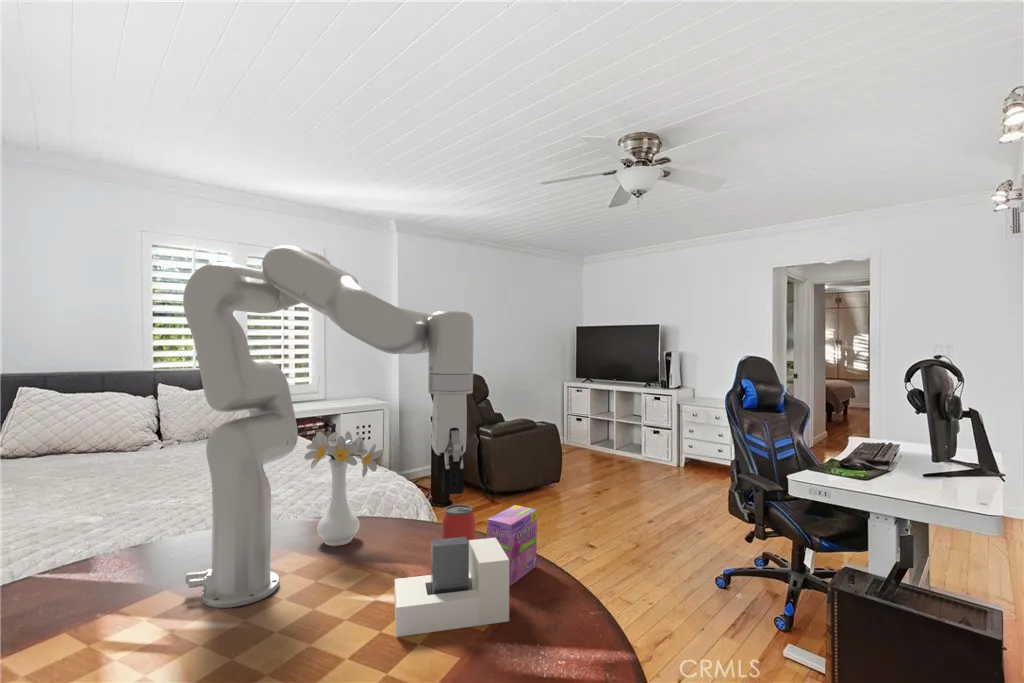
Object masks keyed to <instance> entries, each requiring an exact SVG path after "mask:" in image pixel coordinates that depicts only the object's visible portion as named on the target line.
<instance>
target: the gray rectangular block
mask: <svg viewBox="0 0 1024 683" xmlns="http://www.w3.org/2000/svg"><path fill="white" fill-rule="evenodd" d="M430 541H431V542H430V545H431V547H430V548H431V550H430V560H431V561H430V575H431V595H434V594H442V593H451V592H459V591H467V590H469V542H468V540H467V538H466V537H458V538H447V539H443V538H438V539H437V538H436V539H431V540H430Z"/></svg>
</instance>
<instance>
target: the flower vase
mask: <svg viewBox="0 0 1024 683" xmlns="http://www.w3.org/2000/svg"><path fill="white" fill-rule="evenodd" d="M338 435H339V433H338V432H337V431H335V432H332V433H331V434H330V435H329V436H327V435H325V434H324V433H323V432H322V431H318V432H316V433H315V436H313V437H312V440H311V443H310V444H307V445H306V449H307V450H309V451H308V452H307V453H305V455H304V458H303V459H304V460H306V461H310V460H312V462H310V469H311V470H313V469H314V468H315V467H316V466H317V464H319V462H320V461H321V460H323V459H325V458H326V457H327V456H328V457H330V458H329V459H328V463H329V465H330V471H331V482H332V483H331V497H330V504H329V507H328V510H326V513H325V514H324V515H323V516H322V517H321V519H320V520H319V522H318V524H317V526H316V527H317V528H316V531H317V535H318V536H319V537H320V538H321V539H323V540H324V541H323V542H324V544H325V545H326V546H329V547H339V546H340V547H341V546H344V545H347V544H349V543H351V542H352V541H353V537H354V536H355V535H356V534H357V532H358V531H359V529H360V524H361V523H360V520H359V518H358V516H357V515H356V514H355V513H354V512H353V511H352V510H351V509H350V507H349V506H350V505H349V504H348V500H347V499H348V498H347V484H346V480H347V479H346V478H347V467H348V465H350V466H357V464H358V461H357V459H356V458H359V459H361V462H360V463H361V464H362V469H361V470H362V473H361V474H362V475H361V476H362V477H363V478H364V477H366V475H367V473H368V470H370V471H371V472H376V471H377V469H378V465H377V462H376V461H375V460H377V459H378V458H379V457H380V456H382V454H383V452H384V450H383V449H378V450H376V447H377V444H376V443H374V444H373V445H372V446H371V447H370V448H369V450H368V449H367V447H366V446H365V443H364V439H363V438H362V436H360V433H359V432H358V433H357V438H355V439H354V440H353V435H352V434H351V432H350V431H349V430H347V431H346V432H345V435H344V436H343V435H340V436H338ZM336 439H337V441H336ZM355 457H356V458H355Z"/></svg>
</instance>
